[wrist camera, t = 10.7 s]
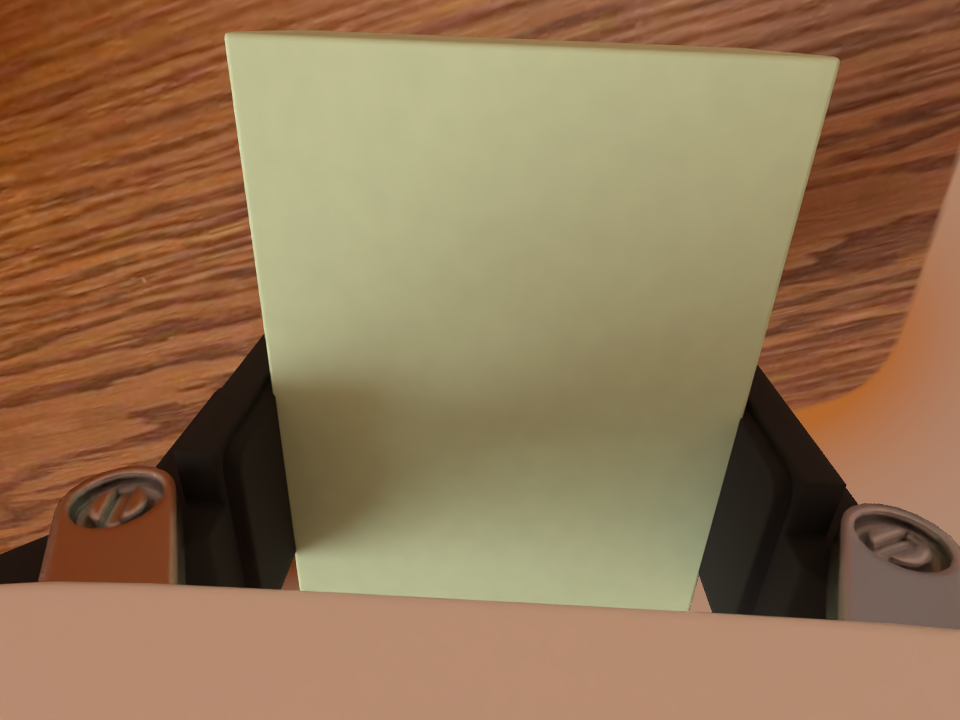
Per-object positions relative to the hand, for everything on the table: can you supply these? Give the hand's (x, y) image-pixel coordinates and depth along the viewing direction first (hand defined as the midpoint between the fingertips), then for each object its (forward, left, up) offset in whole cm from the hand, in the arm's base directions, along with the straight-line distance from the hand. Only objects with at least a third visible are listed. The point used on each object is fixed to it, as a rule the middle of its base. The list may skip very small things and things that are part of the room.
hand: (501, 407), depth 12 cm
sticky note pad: (0, 0, -1) cm, 1 cm away
